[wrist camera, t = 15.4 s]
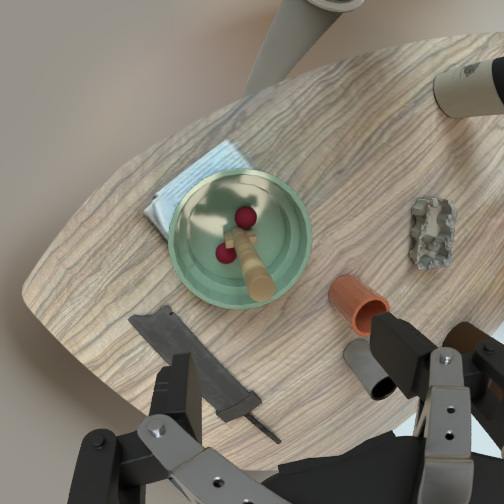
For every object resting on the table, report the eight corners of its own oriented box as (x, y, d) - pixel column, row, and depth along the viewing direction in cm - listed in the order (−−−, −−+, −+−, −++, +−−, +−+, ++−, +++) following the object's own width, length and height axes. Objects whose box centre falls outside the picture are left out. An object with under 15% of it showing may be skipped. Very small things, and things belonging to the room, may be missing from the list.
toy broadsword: (164, 290, 38) (162, 296, 36) (295, 430, 47) (297, 437, 45) (126, 318, 38) (122, 324, 36) (262, 447, 47) (264, 454, 45)
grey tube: (363, 360, 45) (392, 398, 35) (340, 362, 44) (366, 403, 35) (371, 338, 44) (403, 373, 34) (347, 339, 43) (376, 377, 33)
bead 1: (210, 245, 36) (223, 235, 34) (228, 251, 38) (240, 241, 36) (211, 264, 35) (224, 255, 33) (229, 269, 36) (242, 260, 35)
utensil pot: (327, 278, 40) (352, 301, 32) (361, 271, 40) (391, 292, 33) (328, 312, 41) (351, 340, 34) (361, 304, 42) (388, 329, 34)
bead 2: (247, 198, 34) (232, 208, 33) (264, 211, 34) (249, 222, 32) (242, 212, 37) (228, 222, 35) (258, 225, 36) (244, 236, 35)
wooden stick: (222, 228, 36) (233, 281, 19) (250, 223, 36) (286, 272, 19) (224, 242, 36) (237, 306, 19) (252, 238, 37) (289, 297, 19)
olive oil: (457, 313, 46) (546, 377, 22) (478, 324, 49) (555, 380, 25) (430, 359, 48) (506, 435, 24) (454, 365, 51) (521, 430, 27)
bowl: (165, 180, 34) (156, 182, 28) (290, 162, 35) (304, 160, 30) (188, 297, 38) (184, 319, 32) (301, 278, 39) (316, 296, 34)
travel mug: (469, 110, 36) (549, 104, 19) (446, 124, 36) (534, 120, 19) (450, 68, 34) (528, 49, 17) (425, 80, 34) (510, 57, 17)
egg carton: (410, 195, 39) (427, 198, 35) (444, 197, 40) (461, 201, 36) (405, 265, 41) (420, 273, 37) (438, 262, 42) (453, 269, 38)
